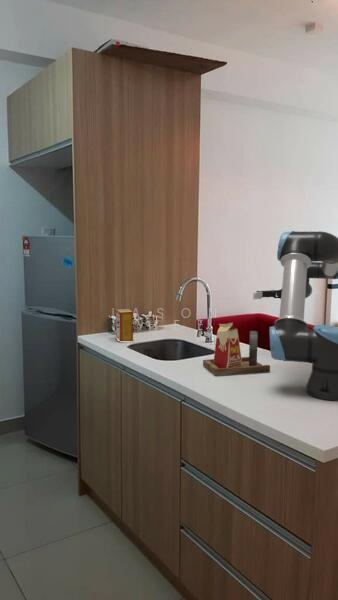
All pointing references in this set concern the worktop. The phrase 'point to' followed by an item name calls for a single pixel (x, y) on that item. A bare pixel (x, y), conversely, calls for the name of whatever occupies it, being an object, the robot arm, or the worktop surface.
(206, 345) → the worktop surface
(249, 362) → the wooden tray
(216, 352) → the milk carton
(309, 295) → the robot arm
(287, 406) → the worktop surface
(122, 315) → the baking soda box
